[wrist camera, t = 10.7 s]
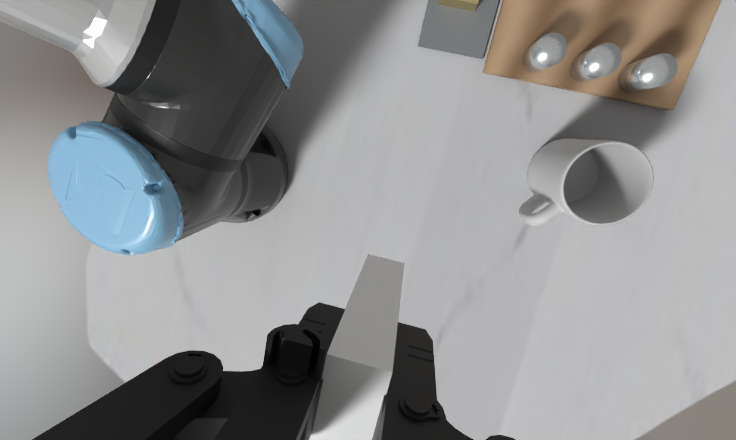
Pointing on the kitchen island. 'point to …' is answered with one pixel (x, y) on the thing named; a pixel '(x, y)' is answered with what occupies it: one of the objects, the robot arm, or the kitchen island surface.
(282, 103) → the kitchen island surface
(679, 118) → the kitchen island surface
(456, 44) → the mat
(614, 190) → the mug
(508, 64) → the board
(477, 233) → the kitchen island surface
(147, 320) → the kitchen island surface
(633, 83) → the spacers
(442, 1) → the nut
